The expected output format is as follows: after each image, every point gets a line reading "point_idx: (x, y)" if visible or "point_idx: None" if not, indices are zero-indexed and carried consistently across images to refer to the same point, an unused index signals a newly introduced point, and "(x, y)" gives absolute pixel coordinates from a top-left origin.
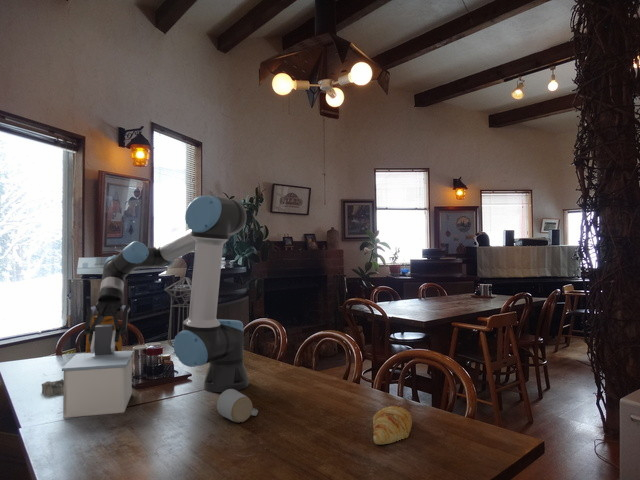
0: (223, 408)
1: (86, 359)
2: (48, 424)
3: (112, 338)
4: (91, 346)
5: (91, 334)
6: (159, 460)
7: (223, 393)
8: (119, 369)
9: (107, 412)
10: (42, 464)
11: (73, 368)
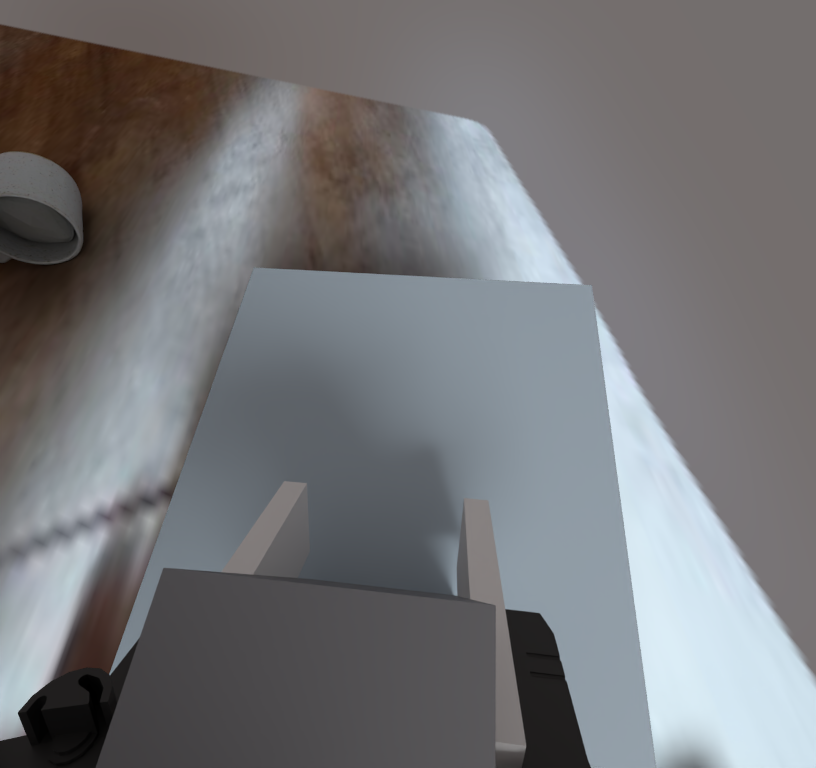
0: (71, 195)
1: (495, 459)
2: None
3: (253, 558)
4: (484, 516)
5: (545, 729)
6: (284, 116)
7: (23, 189)
8: None
9: None
10: (486, 149)
11: (527, 285)
